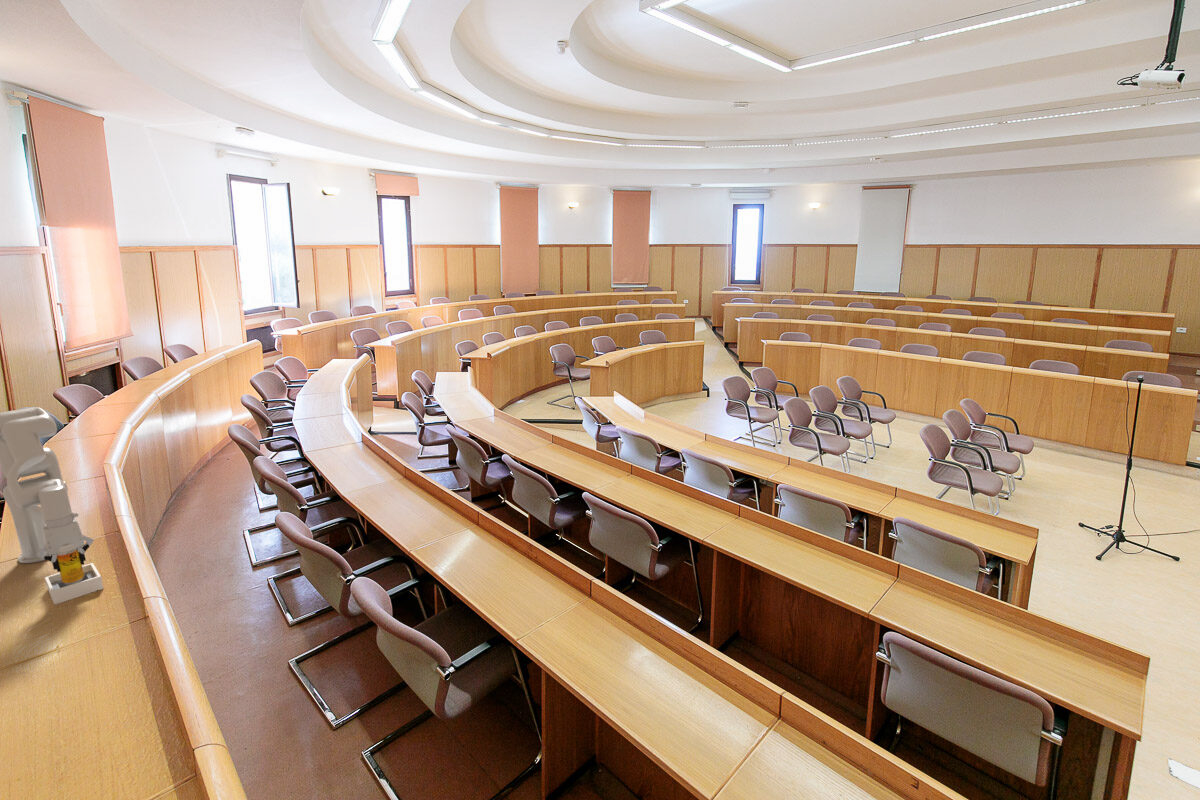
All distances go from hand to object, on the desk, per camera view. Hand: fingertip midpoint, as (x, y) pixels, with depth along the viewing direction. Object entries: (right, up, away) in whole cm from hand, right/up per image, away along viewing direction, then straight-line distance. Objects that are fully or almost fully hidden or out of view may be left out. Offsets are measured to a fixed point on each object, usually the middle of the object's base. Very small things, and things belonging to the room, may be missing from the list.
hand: (70, 566), depth 220 cm
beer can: (0, -6, +1) cm, 6 cm away
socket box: (0, -9, +2) cm, 9 cm away
